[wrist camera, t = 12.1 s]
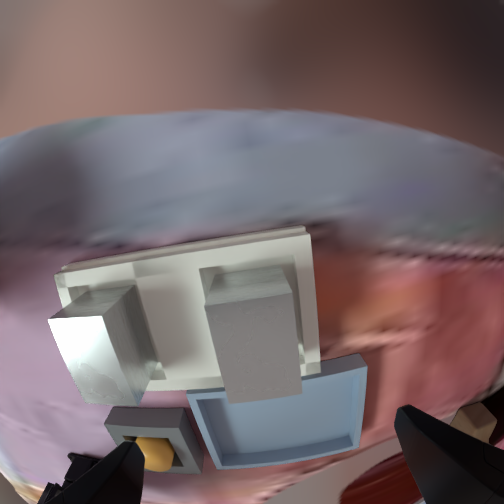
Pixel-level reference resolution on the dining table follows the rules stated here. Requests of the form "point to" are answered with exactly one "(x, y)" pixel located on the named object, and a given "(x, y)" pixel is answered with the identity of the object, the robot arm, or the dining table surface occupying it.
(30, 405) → the dining table surface
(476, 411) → the wooden block
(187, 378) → the white divided tray
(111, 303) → the block
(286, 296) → the billet
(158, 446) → the button
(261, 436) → the tray
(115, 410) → the grey square frame
